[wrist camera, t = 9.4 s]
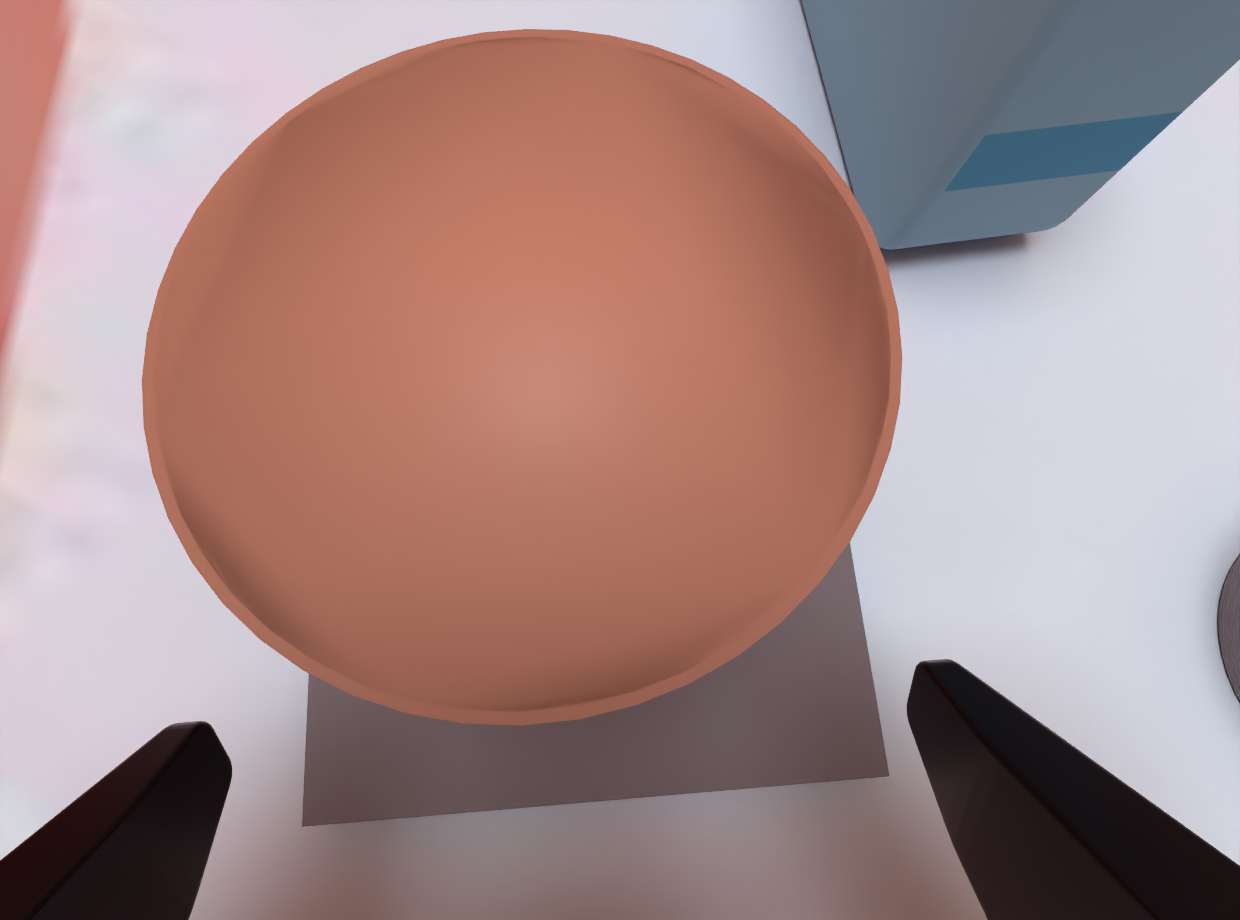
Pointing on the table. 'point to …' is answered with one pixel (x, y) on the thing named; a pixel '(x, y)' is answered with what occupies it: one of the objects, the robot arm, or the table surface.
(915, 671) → the robot arm
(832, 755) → the charcoal mat
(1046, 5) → the data package
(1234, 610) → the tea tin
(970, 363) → the table surface
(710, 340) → the terracotta canister
